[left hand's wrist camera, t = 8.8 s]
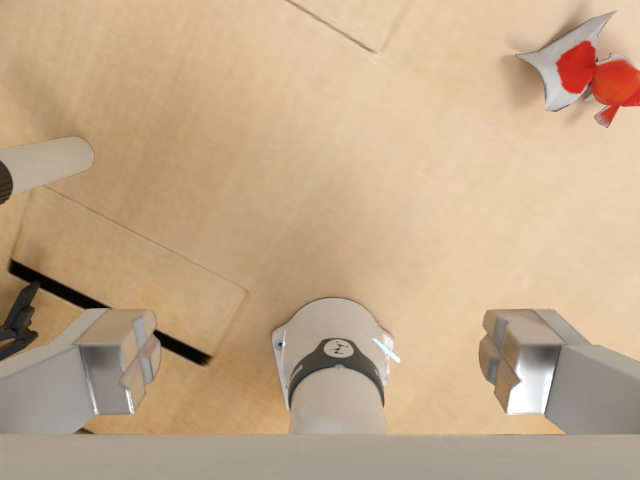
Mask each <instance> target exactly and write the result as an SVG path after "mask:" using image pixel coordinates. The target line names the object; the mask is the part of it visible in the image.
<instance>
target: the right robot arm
mask: <svg viewBox="0 0 640 480" xmlns="http://www.w3.org/2000/svg"><path fill="white" fill-rule="evenodd" d="M39 286H40V283H39V282H37V281H34V282H33V283H31V284H30V285H28V286H27V287H25V288H24V289H22V290H21V292H20V294H19V296H18V298H17V300H16V301H15V303H14V305H13V307H12V309H11V311H10V313H9V315H8V317H7V319H6V321H5V323H4V325H1V326H0V341H3V340H7V339H11V338H15V340H13V341H11V342H9V343H7V344H5V345H3V346H2V347H0V361H1V360H3V359H5V358H7V357H8V356H10V355H12V354H14V353H16V352H18V351H20V350H22V349H24V348H26V347H27V346H28V345H29V344H30V343H32V342H33V341H34V340H35V339H36V338H37V337H38V333H37V332H36V331H31V330H29V328H28V326H29V325H31V323H32V322H31V320H30V319H31V317H32V315H33V313H34V312H35V308H33V307H32V306H30V303H31V301H32V299H33V297H34V296H35V294H36V292H37V290H38V288H39ZM73 434H91V433H89V432H86V431H84V430H80V429H79V430H77V431H76V432H75V433H73Z"/></svg>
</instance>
